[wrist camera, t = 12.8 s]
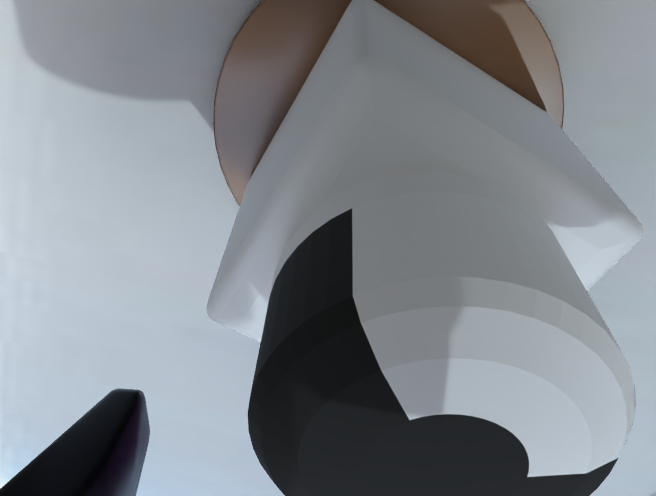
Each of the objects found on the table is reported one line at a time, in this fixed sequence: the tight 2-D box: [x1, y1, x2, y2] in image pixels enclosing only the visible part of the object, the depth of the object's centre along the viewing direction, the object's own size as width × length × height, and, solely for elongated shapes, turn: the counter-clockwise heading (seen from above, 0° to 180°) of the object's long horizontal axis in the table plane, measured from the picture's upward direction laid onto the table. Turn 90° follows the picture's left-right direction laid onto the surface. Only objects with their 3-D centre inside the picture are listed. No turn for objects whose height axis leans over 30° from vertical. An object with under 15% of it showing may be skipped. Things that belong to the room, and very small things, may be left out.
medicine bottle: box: [207, 0, 642, 496], centre depth 14 cm, size 7×7×12 cm
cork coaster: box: [213, 0, 564, 206], centre depth 19 cm, size 11×11×1 cm
